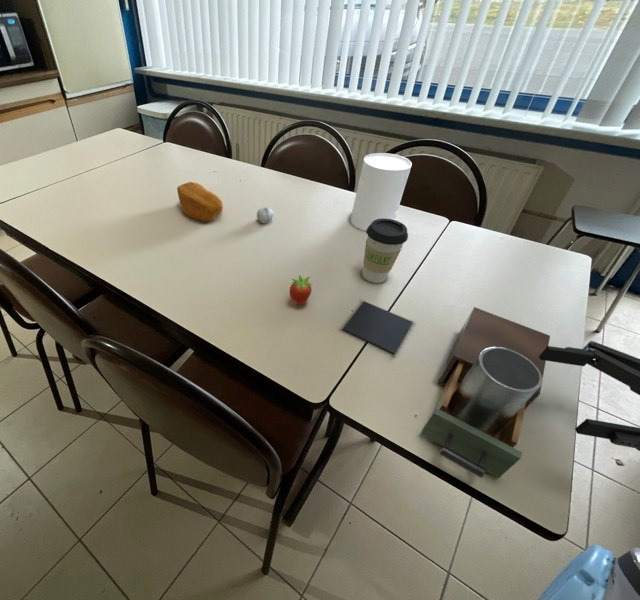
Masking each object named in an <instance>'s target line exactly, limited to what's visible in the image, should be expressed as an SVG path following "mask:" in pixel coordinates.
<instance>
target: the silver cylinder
mask: <svg viewBox="0 0 640 600" xmlns="http://www.w3.org/2000/svg"><path fill="white" fill-rule="evenodd" d="M543 379H544V378H543ZM543 379H542V375H541V373H540V371H539V369H538V368H537V367H536V366H535V365H534V364H533V363H532V362H531V361H530V360H529V359H527V358H526V357H524V356H523V355H521V354H519V353H517V352H515V351H512V350H509V349H506V348H500V347H491V348H487V349H485V350H483V351H482V352H481V353H480V355H479V356H478V358H477V359H476V361H475V362H474V364H473V365H472V367H471V368H470V370H469V371H468V373H467V374H466V376H465V377H464V379H463V380H462V382H461V383H460V385H459V386H458V388H457V389H456V391H455V392H454V394H453V395H452V397H451V399H450V401H449V404H448V406H447V408H446V413H447V414H449V415H451V416H453V417H455V418H457V419H458V420H460V421H462V422H464V423H466V424H468V425H470V426H472V427H474V428H476V429H478V430H480V431H482V432H484V433H486V434H487V435H489V436H491V437H494V436H495V435H496V434H497V433H498V432H499V431H500V430H501V429H502V428H503V427H504V426H505V425H506V424H507V423H508V421H509V420H510V419H511V418H512V417H513V416H514V415H515V414H516V413H517V412H518V411H519V410H520V408H521V407H522V406H523V405H524V404H525V403H526V402H527V401H528V400H529V399H530V398H531V397H532V395H533V394H534V393H535V392H536V391H537V390H538V389H539V388H540V387H541V388H542V386H543Z"/></svg>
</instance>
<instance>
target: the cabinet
mask: <svg viewBox="0 0 640 600" xmlns="http://www.w3.org/2000/svg"><path fill="white" fill-rule="evenodd" d="M550 339H551V335H549V334H547V333H544V332H542V331H539V330H537V329H533V328H531V327H528V326H526V325H523V324H521V323H518V322H515V321H512V320H510V319H507V318H504V317H502V316H500V315H496V314H494V313H491V312H489V311H487V310H483V309H481V308H478V307H475V306H474V307H473V308H472V309H471V311H470V313H469V314H468V317H467V318H466V320H465V322H464V323H463V325H462V327H461V329H460V330H459V332H458V334H457V336H456V339H455V341H454V344H453V346H452V347H451V350H450V353H449V354H448V357H447V360H446V362H445V364H444V366H443V369H442V372H441V373H440V375H439V377H438V380H437V382H436V383H437V384H438V385H440V386H442V387H443V388H444V387H445V385H446V382H447V380H448V377H449V376H450V374H451V372H452V371H453V369H454V368H455V366H456V364H457V363H458V361H460V362H462V363H464V364H466V365H469V366H471V367H472V365H473V364H474V362H475V361H476V359H477V358H478V356H479V355H480V353H481V352H482V351H483V350H485V349H487V348H491V347H500V348H506V349H509V350H512V351H515V352H517V353H519V354H521V355H523V356H524V357H526V358H527V359H529V360H530V361H531V362H532V363H533V364H534V365H535V366H536V367H537V368H538V369H539V371H540V373H541V375H542V379H544V373H545V367H546V362H547V361H545V360H540V358H539V355H540V354H541V353H542V352H543V351H544V350H545V348H546V347H547V346H550V345H549V344H550ZM541 390H542V386H541V387H540V388H539V389H538V390H537V391H536V392H535V393H534V394H533V395H532V397H531V398H530V399H529V400H528V401H527V402H526V404H525V409H524V411H526V409H527V408H528V407H529V406H531V404H532V403H533V402H534V401H535V400H537V398H538V397H539V396H540V395H541Z"/></svg>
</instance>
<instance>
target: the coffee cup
mask: <svg viewBox="0 0 640 600" xmlns="http://www.w3.org/2000/svg"><path fill="white" fill-rule="evenodd" d="M365 232H366V235H367V236H366V240H365V246H364V253H363V254H364V255H363V263H362V264H363V266H362V273H361V275H362V277H363V279H365V280H366V281H367V282H370V283H374V284H380V283H383V282H385V281H386V280H387V278H388V275H389V273H390V272H391V270H392V268H393V267H394V265H395V263H396V261H397V259H398V257H399V255H400V253H401V251H402V249H403V245H404V243H406V242H407V241H408V239H409V233H408V228H407V226H406V225H405V224H404V223H402V222H401V221H399V220H396V219H395V220H392V219H377V220H374V221H373V222H372V223H371V225H369V227H368V228H367V231H365Z"/></svg>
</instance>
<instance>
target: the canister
mask: <svg viewBox="0 0 640 600" xmlns="http://www.w3.org/2000/svg"><path fill="white" fill-rule="evenodd" d="M412 165H413V163H412V161H411V160H410V159H409V158H406V157H405V156H402V155H400V154H394V153H389V152H388V153H387V152H375V153H374V152H373V153H369V154H366V155H365V156H364V157H363V161H362V165H361V169H360V174H359V179H358V183H357V188H356V193H355V197H354V201H353V206H352V211H351V214H350V215H351V216H350V223H351V224H352V225H353V226H354V227H355V228H357V229H358V230H359V229H360V230H361V231H364V232H366V231H367V228H368V227H369V225H371V223H372V222H373V221H374V220H377V219H392V220H396V217H397V213H398V210H399V207H400V204H401V201H402V197H403V194H404V191H405V188H406V185H407V182H408V179H409V175H410V173H411V168H412Z"/></svg>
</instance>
